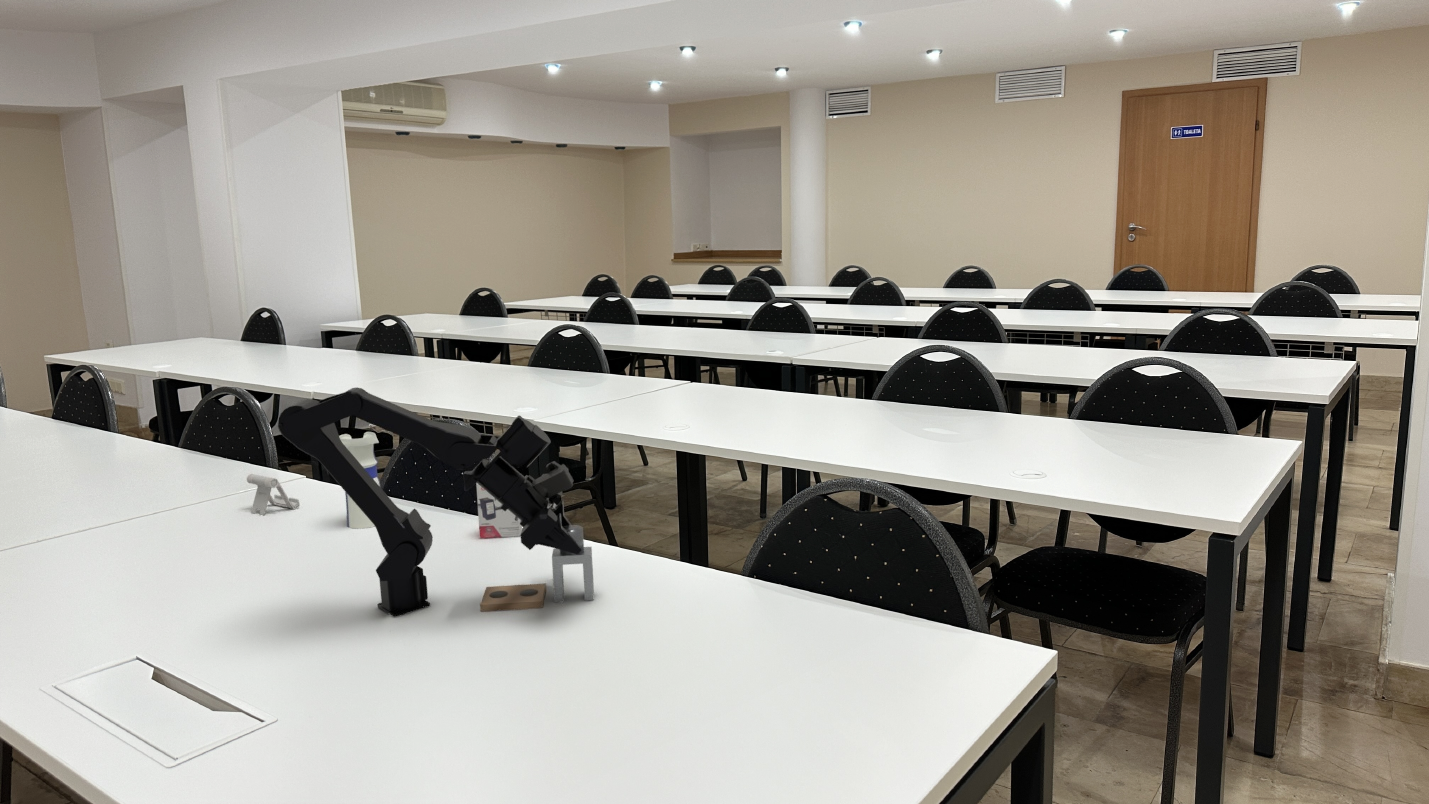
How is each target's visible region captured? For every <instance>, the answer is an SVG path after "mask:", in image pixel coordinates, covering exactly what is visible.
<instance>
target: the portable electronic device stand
mask: <svg viewBox="0 0 1429 804" xmlns="http://www.w3.org/2000/svg"><path fill="white" fill-rule="evenodd" d="M246 482H247V483H248V484H252V485H255V486H257V487H256V488H257V489H256V492H255V496H254V500H253V503H252V507H251V510H250V512H251V514H252V515H253V514H254V515H255V514H256V512H257V511H258V510H259V511H260V512H259V516H261V515H264V516H265V515H266V511H267V507H268V503H269V504H270V505H272V506H278V507H284V508H287V509H290V510H298V509H299V507H300V506H301V505H300V501H299V498H294V497H288V496H287V493H286V492H285V490H284V488H283V487H282V485H281V483H280V481H279V480H278V478H275V477H270V476H264V475H259V474H255V473H251V474H248V475H247V477H246ZM275 488H276V490H277V491H278V493H279V494H280V495H279V494H274V497H273V496H272V495H271V492H272V489H275Z"/></svg>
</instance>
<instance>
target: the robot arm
mask: <svg viewBox="0 0 1429 804" xmlns="http://www.w3.org/2000/svg"><path fill="white" fill-rule="evenodd" d="M349 417H354V418H357V419H358V420H359V419H361V421H363V422H366V423H368V424H371V425H373V426H375V427H378V428H380V429H383V430H385V431H387V432H389V433H392V434H395V435H396V436H399V437H400V438H401V437H402V438H404V439H406V440H408V441H411V442H414V443H415V444H418V445H420V446H421V447H423V448H424V449H426V450H427V451H428V452H430V454H432V456H434V457H435V458H436V459H438V460H439V461H441V462H443V463H444V464H446V465H447V466H449V467H450V468H452V469H454V470H458V471H462V470H463V471H464V470H465V471H464V472H463V474H462V477H463V481H464V488H463V489H464V491H465V492H468V491H469V490H470V489H471V488H472V487H474V485H475V484H479V485H480V486H481V487H482V488H483V489H485V490H486V491H487V492H488V493H489V494H490V495H492V496H493V497H494V498H495V499H496V500H497V501H499V502H500V503H501V504H502V505H501V507H500V508H501V509H503V510H504V511H506V510H507V509H508V510H509V511H510V512H512V513H513V514H514V515H515V516H516V517H518V518H519V519H520V520H521V521H520V525H521V526H523V528H522V532H521V536H520V544H522V545H523V546H524V547H526V548H527V549H528V550H529V551H531V550H533V548H534V547H535V546H539V545H540V546H545V547H548V548H552V549H560V550H563V551H567V552H570V553H574V554H579V553H580V551H581V548H580V546H579V545H578V544H577V543H576V541H575V540H574V539H573V538H572V537H571V536H570V535H569V533H568V532H567V531H566V530H565V529H564V528H563V526H567V525H572V523H571V522H570V520H569V519H568V518H567V516H566V515H565V510H564V509H565V507H564V504H565V503H564V499H562V500H560V501H559V502H558V503H557V504H556V503H555V501H556V500H557V499H561V497H562V496H563V492H564V491H565V492H566V491H568V490H570V489H571V488H573V486H574V484H573V483H574V481H575V480H574V479H573V476H572V475H571V473H570V472H569V471H570V470H569V468H568V467H567V466H566V465H565V464H564V463H562V464H559V463H558V462H557V461H555V460H554V461H551V462H549V463H548V464H546V466H545V473H542V475H541V476H539V477H537V478H534V477H533V476H531V475H528V474H526V475H525V476H524V475H523V474H522V473H520V472H519V471H518V470H517V469H520V468H522V467H524V468H528V467H529V466H530V465H531V464H532V463H533V462H534V461H535V460H536V459H537V458H538V456H540V455H541V454H542V452H543V451H544V450H545V449H546V448H547V447H549V445H550V444H551V439H550V437H549V436H548V434H547V433H546V432H545V431H544V430H543V429H541V427H539V426H538V425H537V424H534V423H533V422H531V421H530V420H529V419H525V418H523V417H522V416H521V415H517V417H516V418H514V419H513V420H512V423H511V424H510V425H509V426H508V428H507V429H506V430H505V431H504V432H503V433H502V434H501V435H495V434H482V433H480V432H479V431H477V430H476V429H474V428H472V427H467V426H463V425H459V424H455V423H449V422H440V421H436V420H432V419H430V418H428V417H425V416H423V415H420V414H418V413H416V412H414V411H411V410H409V409H406V408H404V407H403V406H402V407H401V406H400V405H398V404H395V403H393V402H391V401H388V400H385V399H384V398H381V397H379V396H377V395H374V394H372V393H370V392H368V391H367V390H365V389H364V388H362V387H351V388H350V389H348V390H346V391H345V392H342V393H341V392H340V393H337V394H334V395H332V396H328V397H325V398H322V399H320V400H317V399H311V398H310V399H309V398H307V399H301V400H300V401H297V402H295V403H293V404H292V405H290V406H288V407H287V408H285V409H284V410H282V411H281V413H280V415H279V417H278V421H277V422H278V423H277V429H278V431H279V433H280V434H281V435H282V437H284V438H285V439H286V440H287V441H289V443H290V444H292V445H293V446H295V448H297V449H298V450H300V451H302V452H304V453H305V454H307V455H309V456H311V457H313V458H314V459H316V460H317V461H318V462H319V463H320V464H321V465H322V466H323V467H324V469H325V470H326V471H327V472H328V473H329V475H330V476H331V477H332V478H333V479H334V481H336V483H337V484H338V485H339V486H340V487H341V489H342V490H343V491H344V493H345V492H346V493H347V494H348V495H349V496H350V498H351V499H352V500H353V501H354V502H355V503H356V505H357V506H358V507H359V508H360V509H361V510H362V511H363V513H364V514H365V515H366V516H367V517H368V518H369V520H370V521H371V522H372V523H373V524H374V525H375V527H374V528H375V529H376V532H377V535H378V537H379V540H380V542H381V543H380V544H381V545H382V547H383V548H384V550H385V552H386V555H385V556H384V558H383V559H382V560H381V562H380V563H379V565H378V566H377V568H376V569H375V572H376V574H377V576H378V578H379V579H378V580H379V588H380V589H379V590H380V599H381V600H380V603H378V604H377V608H378V609H381V611H383V612H385V613H387V614H388V615H390V616H392V617H394V618H395V617H399V616H402V615H405V614H409V613H412V612H415V611H419V610H422V609H425V608H428V607H431V602H429V601H428V598H429V596H428V584H427V583H428V582H427V576H426V575H424V569H423V568H422V567H420V566H419V565H420V564H421V563H422V562H423V561H424V560H425V558H426V556H427V554H428V553H429V551H430V550H431V548H432V545H433V534H432V532H431V529H430V528H431V526H432V525H431V523H428V522H426V521H425V520H424V519H423V518H422V516H421V514H420V513H419V511H418V510H417V509H416V508H413V509H412V510H411V511H409V513H408V512H407V511H405V510H402V509H401V508H400V507H398V506H397V505H396V503H394V501H393V500H392V499H391V498H390V497H389V495H387V494H386V492H385V491H384V489H382V488H380V486H381V485H380V486H379V485H378V484H377V483H376V482H375V481H374V479H373V478H372V477H371V476H370V475H369V473H368V472H367V471H366V470H365V469H364V468H363V466H362V465H361V464H360V463H359V462H358V461H357V459H356V458H355V457H354V456H353V455H352V454H351V452H350V451H349V450H348V449H347V448H346V447H345V445H344V444H343V443H342V441H341V440H340V437H339V436H340V435H339V432H338V429H337V426H336V422H338V421H341V420H344V419H346V418H349ZM497 450H498V451H497ZM496 451H497V453H496V454H495V452H496ZM493 454H495V455H494V456H493V457H491V456H492V455H493ZM489 458H491V459H490V460H488V459H489ZM478 461H480V462H479V463H478V464H477V465H476V466H475V467H474V468H473V470H466V469H469V468H471V467H472V466H474V465H475V464H476V463H477V462H478ZM516 468H517V469H516Z"/></svg>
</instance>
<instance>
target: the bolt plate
mask: <svg viewBox="0 0 1429 804" xmlns="http://www.w3.org/2000/svg"><path fill="white" fill-rule="evenodd" d="M546 585H547V584H546V583H532V584H531V583H528V584H514V585H513V584H511V585H497V586H495V585H494V586H486V587H485V590H484V593H483V595H482V599H481V602H480V603H479V608H480V612H481V613H482V612H483V613H484V612H498V611H497V610H500V611H511V610H512V611H513V610H514V609H515V610H517V611H518V610H530V609H543V608H544V604H545V603H544V602H545V598H546V593H547V586H546ZM515 610H514V611H515Z"/></svg>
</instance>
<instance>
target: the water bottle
mask: <svg viewBox="0 0 1429 804" xmlns="http://www.w3.org/2000/svg"><path fill="white" fill-rule="evenodd" d="M360 420H361V419H359V418H358V421H360ZM361 421H362V420H361ZM339 437H340V440H341V441H342V443H343V444H344V445H345V447H346V448H347V449H348V450H349V451H350V452H351V454H352V455H353V456H354V457H355V458H356V459H357V461H358V462H359V463H360V464H361V465H362V466H363V468H364V469H365V470H366V471H367V472H368V473H369V475H370V476H371V477H372V478H373V479H374V481H375V482H376V483H377V484H378V485H379V486H380V488H381V486H382V485H381V482H380V479H379V476H378V470H377V469H378V468H377V464H378V462H379V460H378V459H377V457H376V455H375V451H374V450H375V448H374V447H375V444H379V443H380V442H379V440H378V438H377V435H376V433H375V432H372V431H366V432H364V433H363V437H361V438H352V436H351V435H350V434H348V433H344V434H341V435H339ZM381 489H382V488H381ZM344 493H345V505H346V507H345V508H346V525H347V527H348V528H350V529H357V530H358V528H360V530H361V528H362V529H369V528H370V529H371V528H376V527H375V525H374V524H373V523H372V522H371V521H370V520H369V518H368V517H367V516H366V515H365V514H364V513H363V511H362V510H361V509H360V508H359V507H358V506H357V505H356V503H355V502H354V501H353V500H352V499H351V498H350V496H349V495H348V494H347V493H346V492H345V491H344Z"/></svg>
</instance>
